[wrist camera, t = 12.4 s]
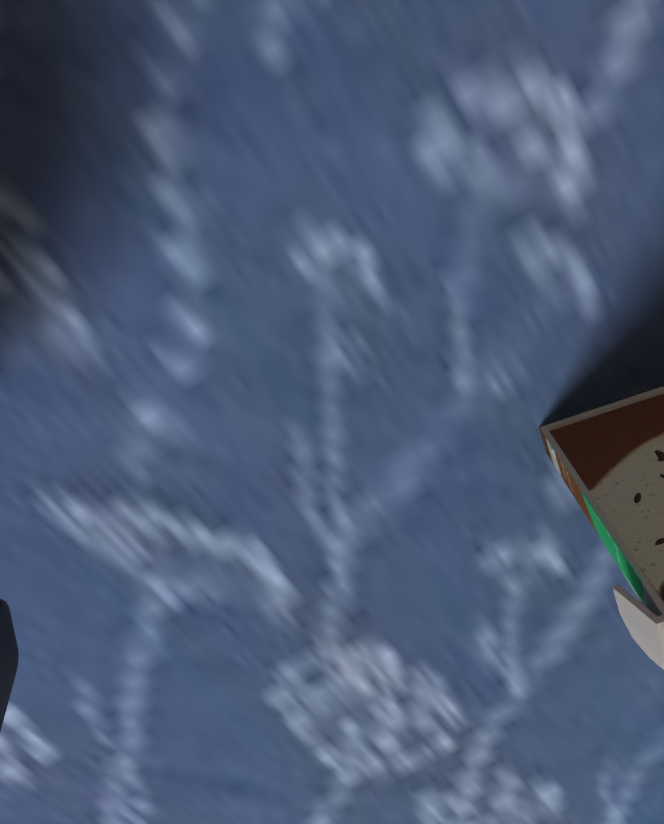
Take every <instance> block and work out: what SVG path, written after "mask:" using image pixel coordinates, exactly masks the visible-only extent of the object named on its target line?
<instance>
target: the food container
mask: <svg viewBox="0 0 664 824" xmlns="http://www.w3.org/2000/svg"><path fill="white" fill-rule="evenodd" d="M539 430H540V433H541V436H542V440H543V443H544V446H545V450H546V453H547V455H548V456H549V458H550V459H551V461H552V463H553V464H554V466H555V467H556V469H557V470H558V472H559V474H560V475H561V477H562V478H563V480H564V481H565V483H566V485H567V486H568V488H569V489H570V491H571V493H572V494H573V496H574V497H575V499H576V500H577V502H578V504H579V505H580V507H581V508H582V510H583V511H584V513H585V515H586V516H587V518H588V519H589V521H590V522H591V524H592V526H593V527H594V529H595V530H596V532H597V533H598V535H599V537H600V538H601V540H602V541H603V543H604V545H605V546H606V548H607V549H608V551H609V552H610V554H611V556H612V557H613V559H614V560H615V562H616V563H617V565H618V567H619V568H620V570H621V571H622V573H623V574H624V576H625V578H626V579H627V581H628V582H629V584H630V585H631V587H632V589H633V590H634V592H635V593H636V595H637V596H638V598H639V600H640V601H641V603H640V602H639V601H638V600H637V599H635V598H634V597H633V596H632V595H631V594H629V593H628V592H627V591H626V590H624V589H623V588H622V587H621V586H620V585H616V586H614V587H613V590H614V594H615V598H616V601H617V605H618V608H619V612H620V615H621V617H622V619H623V620H624V622H625V624H626V626H627V628H628V630H629V632H630V634H631V636H632V638H633V639H634V640H635V641H636V642H637V643H638V645H639V646H640V647H641V648H642V649H643V650H644V652H645V653H646V654H647V655H648V656H649V657H650V658H651V659H652V660H653V661H654V662H655V663H656V664H657V665H659V666H660V667H661V668H662V669H663V670H664V386H663V387H659V388H656V389H653V390H650V391H647V392H644V393H641V394H638V395H635V396H632V397H629V398H626V399H623V400H620V401H617V402H614V403H611V404H608V405H605V406H602V407H599V408H596V409H593V410H590V411H587V412H584V413H581V414H578V415H575V416H572V417H569V418H566V419H563V420H560V421H557V422H554V423H551V424H548V425H545V426H542V427H539Z"/></svg>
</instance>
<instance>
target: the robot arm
mask: <svg viewBox="0 0 664 824" xmlns="http://www.w3.org/2000/svg"><path fill="white" fill-rule="evenodd" d="M17 667H18V646H17V642H16V637H15V632H14V627H13V623H12V618H11V613H10V609H9V606H8V604H7V603H6V601H4V600H2V599H0V731H1V727H2V723H3V720H4V716H5V712H6V709H7V705H8V701H9V697H10V694H11V690H12V686H13V683H14V679H15V675H16V671H17Z"/></svg>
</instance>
